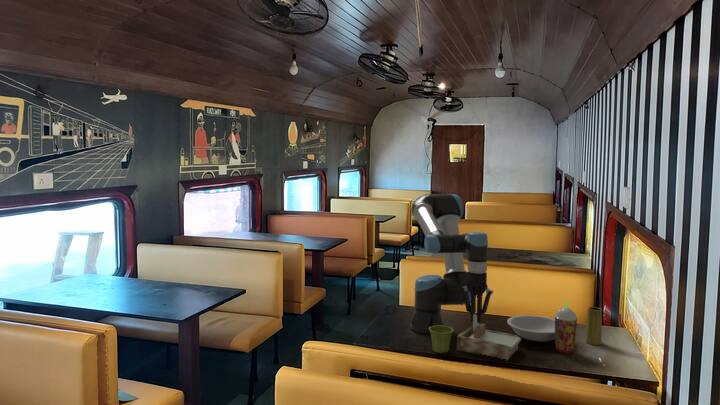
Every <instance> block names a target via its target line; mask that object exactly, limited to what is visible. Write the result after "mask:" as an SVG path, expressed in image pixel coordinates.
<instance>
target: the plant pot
mask: <svg viewBox="0 0 720 405" xmlns="http://www.w3.org/2000/svg"><path fill="white" fill-rule="evenodd" d="M429 330H430V333H431V334H430V336H431V345H432V346H431V347H432V350H433V352H435V353H438V354H443V353H448V352H449V351H450V350H449V349H450V343H451V338H452V335H453V332H454V329H453V327H450V326H448V325H447V326H446V325H445V326H441V325H436V326H431V327H429Z"/></svg>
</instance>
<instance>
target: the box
mask: <svg viewBox="0 0 720 405" xmlns="http://www.w3.org/2000/svg"><path fill="white" fill-rule="evenodd" d="M485 331H487V332H492V333H497V334H503V335H508V336H513V337H519V335H518V334H511V333H507V332H506V333H505V332H501V331H497V330H496V331H495V330H491V329H490V330H489V329H485ZM473 334H474V331H473V326H469V327H467V328H465V329H464V330H463V331H462V332H460V333H459V334H458V335H456V351H461V352H464V353H469V354H473V355H474V354H475V355H479V354H482V355H481V356H483V355H487V356H486V357H488V356H492V357H491V358H493V357H497V358H496V359H498V358H501V359H500V360H502V359H506V360H505V361H508V360H509V359H510V358H511V357H512V356H513V355H514V354H515V353H516V352H517V351H518V349H519V343H518V344H517V345H516V346H515V347H514V348H513V349H512V350H509V349H508V345H504V344H499V343H494V342H489V341H483V340H478V339H473V338H469V337H470V336H471V335H473Z"/></svg>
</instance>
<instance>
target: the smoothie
mask: <svg viewBox="0 0 720 405" xmlns="http://www.w3.org/2000/svg"><path fill="white" fill-rule="evenodd" d="M553 316H554V319H555V339H554V340H555V342H554V344H555V345H554V346H555V348H556V351H557V352H558V353H561V354H566V355H567V354H572V353H573V351H574V350H575V344H576V335H577V334H576V333H577V326H578V325H577V324H578V316H577V315H576V313H575V312H574V311H573V309H571V308H569V307H568V300H565V305H564V307H562V308H559V309H558V310H557V311H556V312H555V314H554V315H553Z"/></svg>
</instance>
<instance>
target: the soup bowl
mask: <svg viewBox="0 0 720 405" xmlns="http://www.w3.org/2000/svg"><path fill="white" fill-rule="evenodd" d="M506 322H507V324H508V326H509V327H511V328H512V330H513V331H514V332H515V333H516V335H518V337H520V338H521V339H522V338H523V339H526V340H529V341H533V342H543V343H544V342H550V341H553V340H555V318H551V317H548V316H544V315H543V316H541V315H531V314H522V315H516V316H511V317H509V318H508V319H507V321H506Z"/></svg>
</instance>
